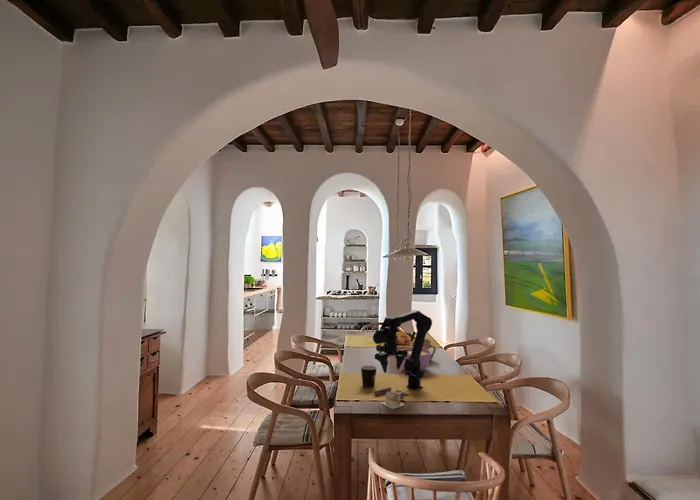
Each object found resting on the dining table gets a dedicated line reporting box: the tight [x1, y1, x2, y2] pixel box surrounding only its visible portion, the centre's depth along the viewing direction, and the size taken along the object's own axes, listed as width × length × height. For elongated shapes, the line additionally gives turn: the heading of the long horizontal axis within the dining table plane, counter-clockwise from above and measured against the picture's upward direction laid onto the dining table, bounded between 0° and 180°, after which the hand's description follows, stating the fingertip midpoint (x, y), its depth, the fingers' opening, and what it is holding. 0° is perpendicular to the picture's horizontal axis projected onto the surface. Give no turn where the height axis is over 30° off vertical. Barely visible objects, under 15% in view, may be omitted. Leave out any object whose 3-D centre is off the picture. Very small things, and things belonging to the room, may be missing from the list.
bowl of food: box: [401, 347, 432, 371], centre depth 248 cm, size 20×20×12 cm
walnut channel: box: [373, 386, 404, 399], centre depth 199 cm, size 10×11×2 cm
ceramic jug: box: [409, 338, 437, 362], centre depth 271 cm, size 18×14×14 cm
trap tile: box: [395, 389, 410, 397], centre depth 203 cm, size 5×8×1 cm, turn 35°
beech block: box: [385, 390, 401, 406], centre depth 187 cm, size 5×5×5 cm
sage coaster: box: [380, 401, 406, 410], centre depth 187 cm, size 8×8×1 cm
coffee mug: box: [360, 364, 377, 389], centre depth 216 cm, size 12×9×10 cm
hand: (391, 371), depth 203 cm, fingers open, 9 cm apart
